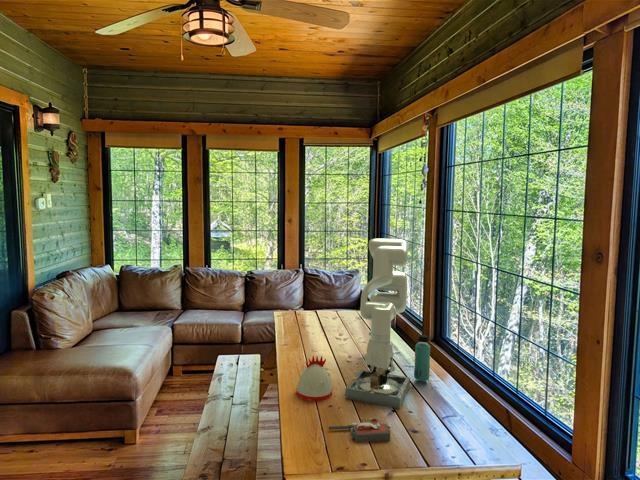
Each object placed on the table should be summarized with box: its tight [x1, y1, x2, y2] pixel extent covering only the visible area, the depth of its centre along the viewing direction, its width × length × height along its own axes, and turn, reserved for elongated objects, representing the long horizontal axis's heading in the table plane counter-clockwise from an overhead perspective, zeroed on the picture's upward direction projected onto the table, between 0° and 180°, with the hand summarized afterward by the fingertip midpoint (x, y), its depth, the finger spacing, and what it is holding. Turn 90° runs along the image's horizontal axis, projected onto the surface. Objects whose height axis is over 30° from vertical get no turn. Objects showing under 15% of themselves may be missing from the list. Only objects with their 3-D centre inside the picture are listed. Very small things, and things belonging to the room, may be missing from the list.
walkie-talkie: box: [328, 421, 391, 443], centre depth 142 cm, size 9×4×20 cm
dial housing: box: [344, 369, 411, 410], centre depth 174 cm, size 21×21×4 cm
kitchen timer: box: [296, 355, 333, 402], centre depth 172 cm, size 14×14×15 cm
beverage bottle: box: [413, 334, 432, 382], centre depth 185 cm, size 6×7×20 cm
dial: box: [359, 368, 399, 395], centre depth 174 cm, size 16×16×6 cm
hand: (378, 382), depth 174 cm, fingers closed on dial, 3 cm apart
